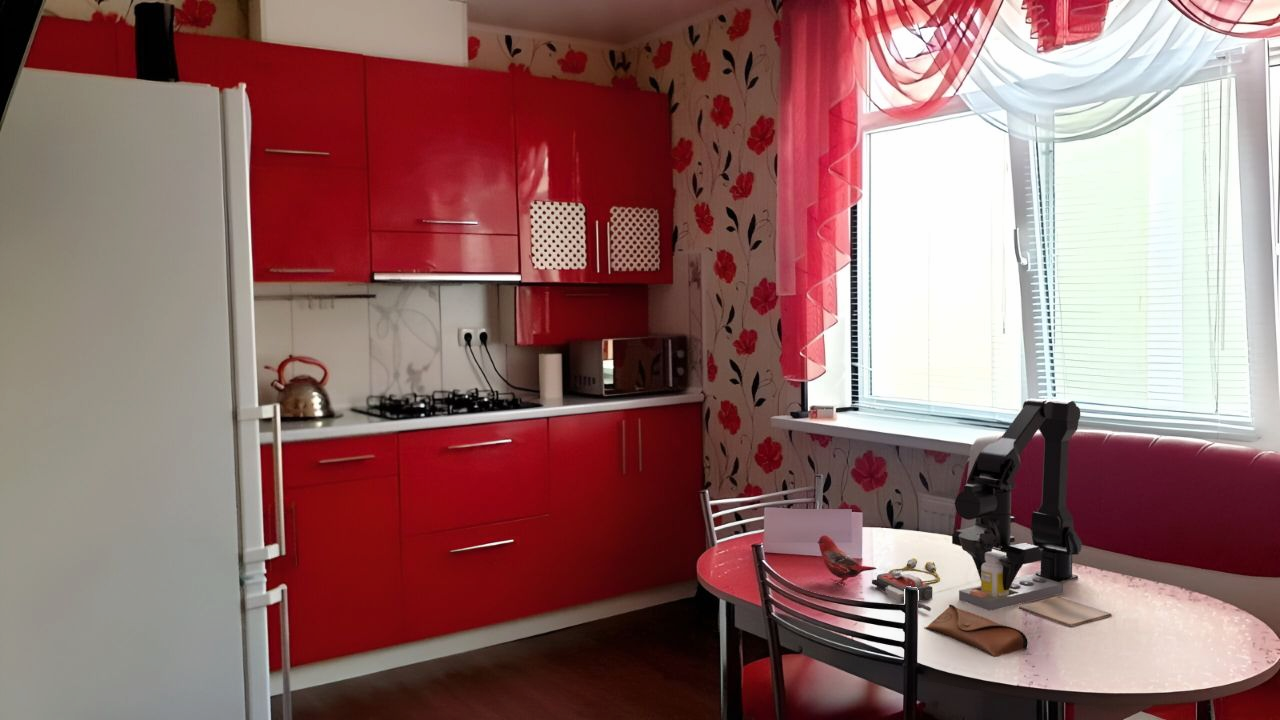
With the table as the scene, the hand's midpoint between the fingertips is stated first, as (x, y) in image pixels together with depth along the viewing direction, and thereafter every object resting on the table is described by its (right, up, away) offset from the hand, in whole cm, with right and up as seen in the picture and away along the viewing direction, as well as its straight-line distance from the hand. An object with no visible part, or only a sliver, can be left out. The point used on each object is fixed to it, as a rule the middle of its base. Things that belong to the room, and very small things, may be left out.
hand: (994, 586), depth 198 cm
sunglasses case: (-12, -6, -20) cm, 24 cm away
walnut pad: (+11, -3, -8) cm, 14 cm away
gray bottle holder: (+4, -3, +3) cm, 6 cm away
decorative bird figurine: (-28, -3, +11) cm, 31 cm away
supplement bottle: (0, -3, 0) cm, 3 cm away
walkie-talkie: (-17, -4, +3) cm, 17 cm away
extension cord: (-11, -3, +18) cm, 22 cm away
